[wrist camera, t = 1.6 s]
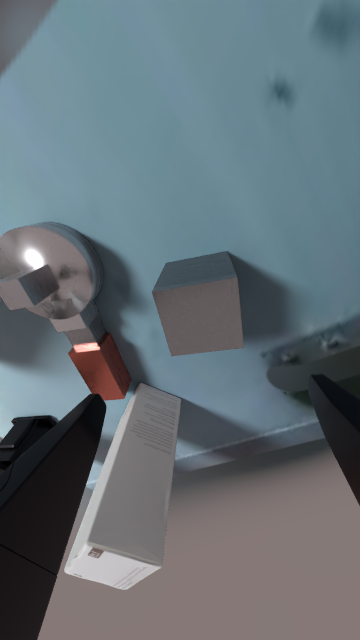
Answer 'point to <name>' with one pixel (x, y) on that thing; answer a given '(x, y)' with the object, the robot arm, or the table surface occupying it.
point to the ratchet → (63, 297)
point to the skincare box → (131, 495)
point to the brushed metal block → (200, 305)
